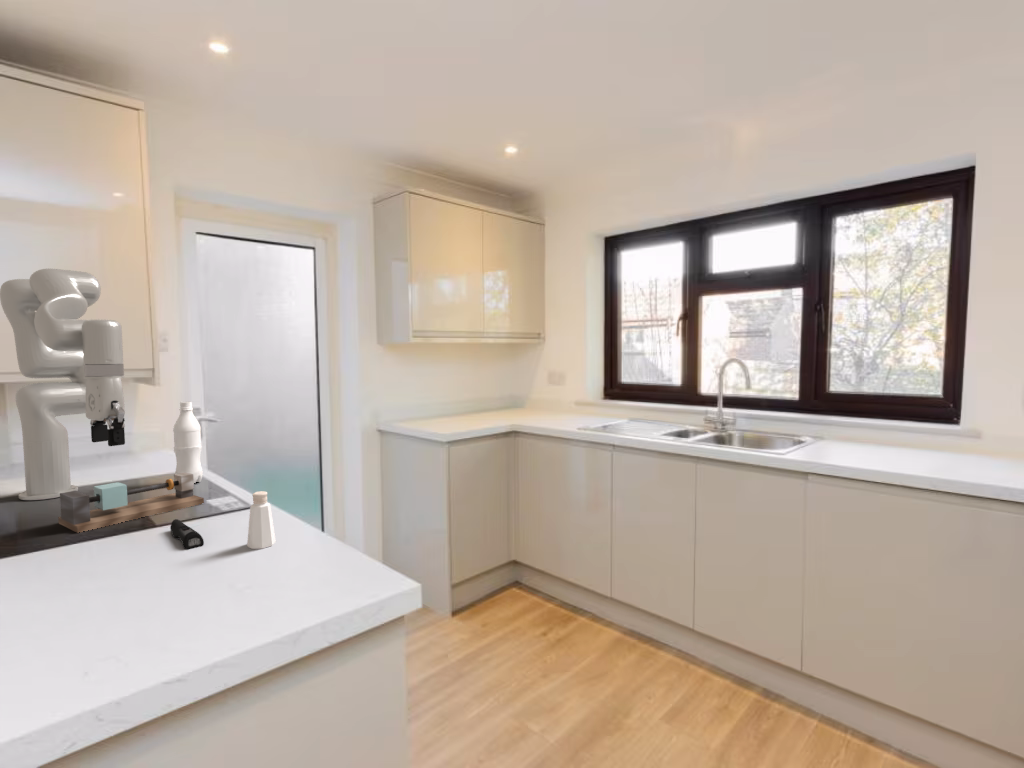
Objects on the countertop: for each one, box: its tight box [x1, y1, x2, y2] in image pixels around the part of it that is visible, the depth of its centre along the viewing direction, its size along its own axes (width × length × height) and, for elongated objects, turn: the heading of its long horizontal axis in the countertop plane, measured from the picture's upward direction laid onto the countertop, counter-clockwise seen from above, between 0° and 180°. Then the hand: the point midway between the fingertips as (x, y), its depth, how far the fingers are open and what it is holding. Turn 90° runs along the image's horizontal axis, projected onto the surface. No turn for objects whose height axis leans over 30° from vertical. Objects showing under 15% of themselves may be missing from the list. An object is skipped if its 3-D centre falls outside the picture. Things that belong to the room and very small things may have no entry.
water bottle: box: [172, 401, 204, 484], centre depth 161 cm, size 7×7×25 cm
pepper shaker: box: [246, 490, 277, 550], centre depth 110 cm, size 5×5×11 cm
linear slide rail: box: [57, 472, 205, 534], centre depth 132 cm, size 27×12×8 cm, turn 146°
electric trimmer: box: [169, 518, 205, 550], centre depth 114 cm, size 4×16×3 cm, turn 45°
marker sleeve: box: [93, 481, 129, 510], centre depth 128 cm, size 5×5×5 cm
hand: (108, 443), depth 127 cm, fingers open, 9 cm apart
